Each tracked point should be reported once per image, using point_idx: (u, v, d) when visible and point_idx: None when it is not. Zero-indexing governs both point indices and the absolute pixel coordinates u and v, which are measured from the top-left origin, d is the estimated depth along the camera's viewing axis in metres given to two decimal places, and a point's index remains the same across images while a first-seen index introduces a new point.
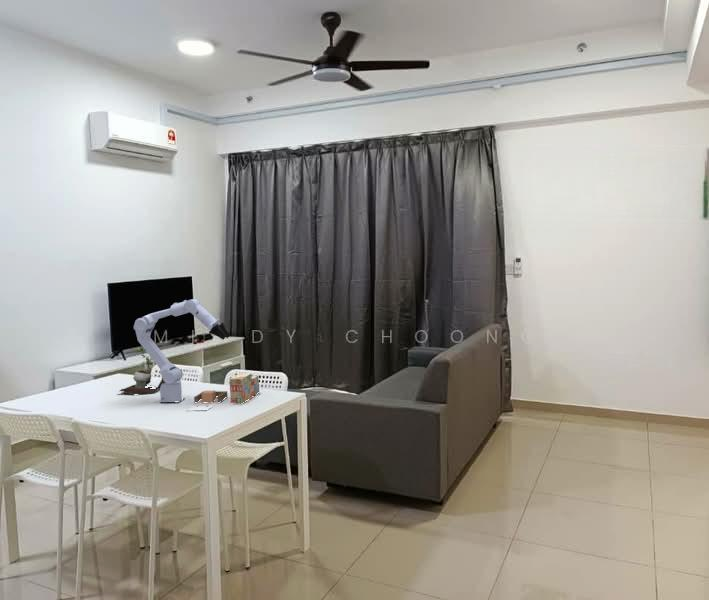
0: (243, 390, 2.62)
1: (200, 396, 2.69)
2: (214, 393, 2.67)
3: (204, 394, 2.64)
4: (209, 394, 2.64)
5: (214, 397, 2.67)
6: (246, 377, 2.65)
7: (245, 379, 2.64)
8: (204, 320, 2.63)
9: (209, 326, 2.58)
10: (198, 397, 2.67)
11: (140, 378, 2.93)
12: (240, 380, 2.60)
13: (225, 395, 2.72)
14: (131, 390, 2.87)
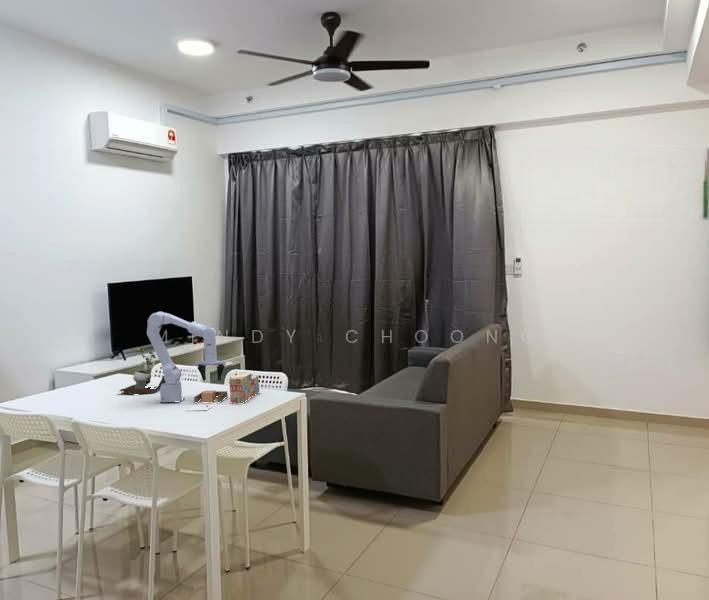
0: (243, 390, 2.62)
1: (200, 396, 2.69)
2: (214, 393, 2.67)
3: (204, 394, 2.64)
4: (209, 394, 2.64)
5: (214, 397, 2.67)
6: (246, 377, 2.65)
7: (245, 379, 2.64)
8: (215, 354, 2.69)
9: (225, 362, 2.70)
10: (198, 397, 2.67)
11: (140, 378, 2.93)
12: (240, 380, 2.60)
13: (225, 395, 2.72)
14: (131, 390, 2.87)
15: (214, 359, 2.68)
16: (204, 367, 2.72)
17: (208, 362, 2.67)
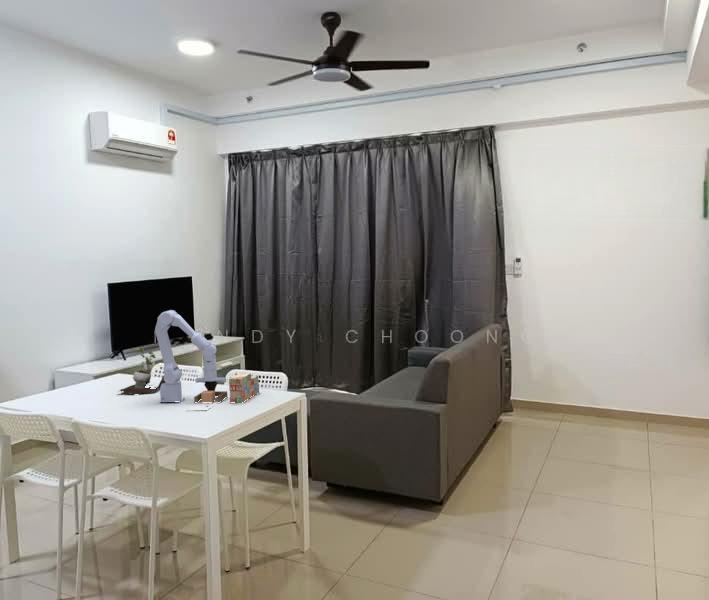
0: (242, 390, 2.62)
1: (200, 396, 2.69)
2: (214, 393, 2.66)
3: (204, 394, 2.63)
4: (208, 394, 2.63)
5: (214, 397, 2.66)
6: (246, 377, 2.66)
7: (244, 379, 2.65)
8: (215, 370, 2.69)
9: (225, 379, 2.69)
10: (198, 397, 2.67)
11: (140, 378, 2.93)
12: (239, 380, 2.60)
13: (225, 395, 2.72)
14: (131, 390, 2.87)
15: (214, 376, 2.68)
16: None
17: (208, 379, 2.67)
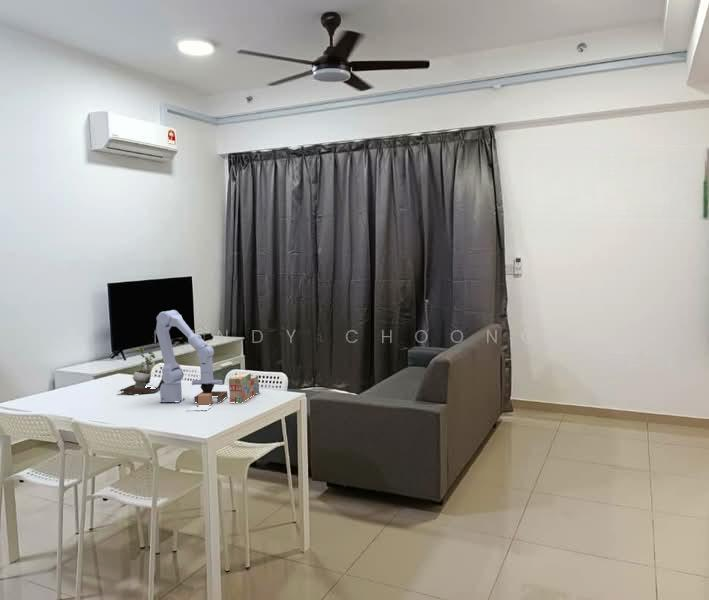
0: (242, 390, 2.62)
1: None
2: (210, 396, 2.62)
3: (200, 397, 2.58)
4: (205, 396, 2.58)
5: (210, 400, 2.61)
6: (245, 377, 2.66)
7: (244, 379, 2.65)
8: (212, 373, 2.64)
9: (222, 381, 2.64)
10: None
11: (140, 378, 2.93)
12: (239, 380, 2.61)
13: (225, 395, 2.72)
14: (131, 390, 2.87)
15: (210, 378, 2.63)
16: None
17: (204, 381, 2.62)
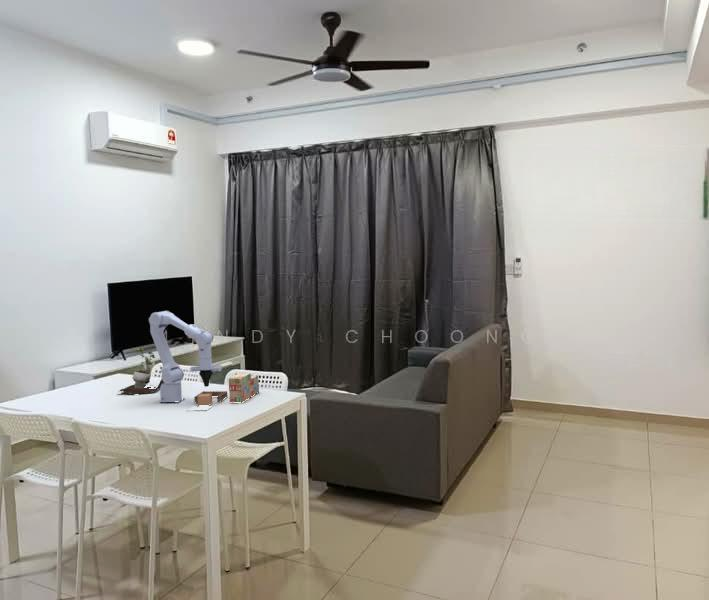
0: (242, 390, 2.62)
1: None
2: (210, 396, 2.61)
3: (200, 397, 2.58)
4: (205, 397, 2.58)
5: (210, 400, 2.61)
6: (245, 377, 2.66)
7: (244, 379, 2.65)
8: (210, 359, 2.62)
9: (220, 368, 2.63)
10: None
11: (140, 378, 2.93)
12: (239, 380, 2.61)
13: (225, 395, 2.72)
14: (131, 390, 2.87)
15: (209, 365, 2.62)
16: None
17: (203, 368, 2.60)
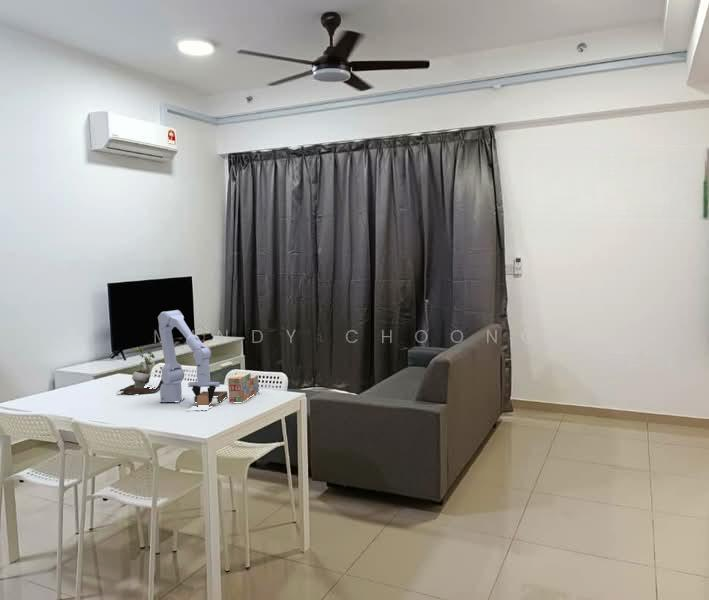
0: (241, 389, 2.63)
1: None
2: None
3: (199, 397, 2.58)
4: (204, 396, 2.58)
5: None
6: (245, 377, 2.67)
7: (244, 379, 2.65)
8: (208, 375, 2.59)
9: (218, 384, 2.60)
10: None
11: (139, 378, 2.93)
12: (238, 379, 2.61)
13: (225, 395, 2.72)
14: (131, 390, 2.87)
15: (207, 380, 2.59)
16: (199, 388, 2.62)
17: (201, 383, 2.57)
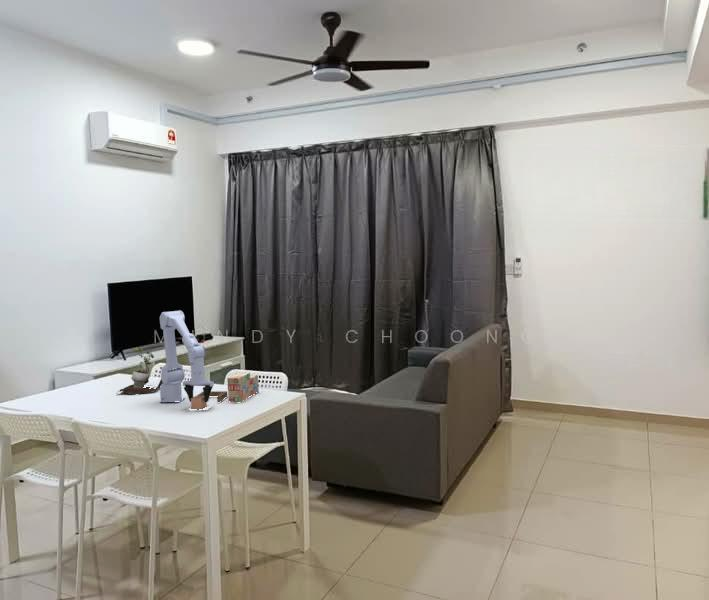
0: (241, 389, 2.63)
1: None
2: (204, 399, 2.54)
3: (193, 400, 2.51)
4: (198, 399, 2.51)
5: (204, 403, 2.54)
6: (244, 376, 2.67)
7: (243, 378, 2.66)
8: (202, 374, 2.52)
9: (212, 383, 2.52)
10: None
11: (139, 378, 2.93)
12: (238, 379, 2.62)
13: (225, 395, 2.72)
14: (131, 390, 2.87)
15: (201, 379, 2.51)
16: (191, 387, 2.55)
17: (194, 382, 2.50)
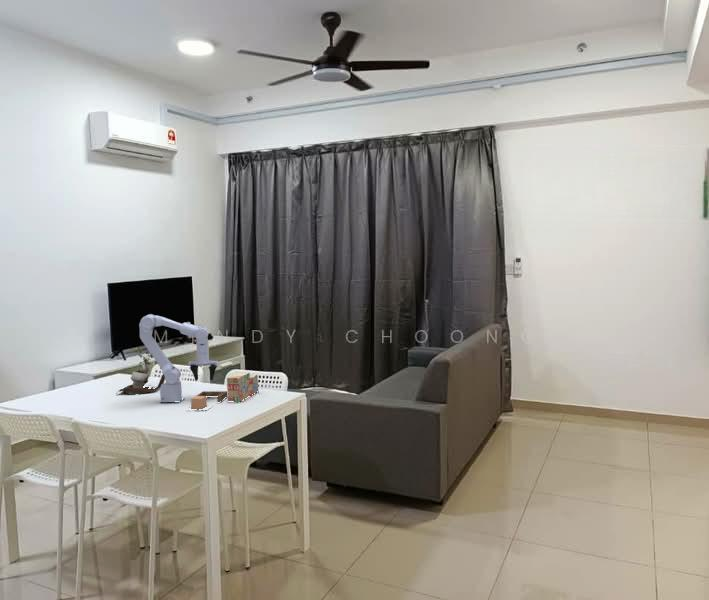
0: (240, 389, 2.64)
1: None
2: (204, 399, 2.54)
3: (193, 400, 2.51)
4: (198, 399, 2.51)
5: (204, 403, 2.54)
6: (243, 376, 2.68)
7: (242, 378, 2.66)
8: (207, 354, 2.70)
9: (217, 362, 2.70)
10: None
11: (138, 378, 2.94)
12: (237, 379, 2.62)
13: (225, 395, 2.72)
14: (131, 390, 2.87)
15: (206, 359, 2.69)
16: (196, 367, 2.72)
17: (200, 362, 2.68)
